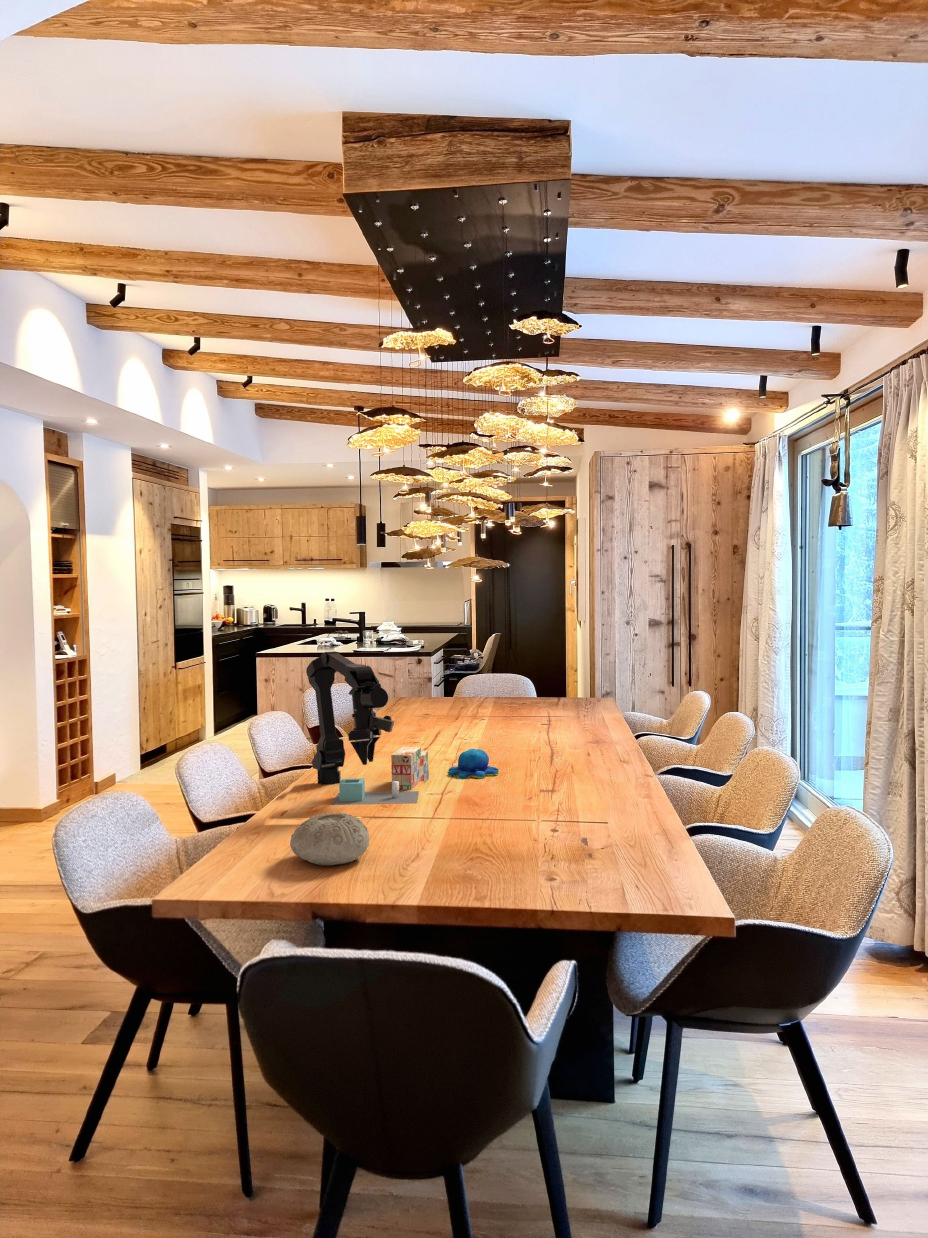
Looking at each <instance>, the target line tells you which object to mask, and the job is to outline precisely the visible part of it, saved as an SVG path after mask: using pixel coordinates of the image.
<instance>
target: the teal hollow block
mask: <svg viewBox="0 0 928 1238" xmlns="http://www.w3.org/2000/svg"><path fill="white" fill-rule="evenodd" d="M365 784H366V783H365V778H361V777H360V778H341V782H340V783H338V787H339V788H338V790H339V792H338V793H339V795H340V801H363V798H364V796H365V792H366V789H365Z"/></svg>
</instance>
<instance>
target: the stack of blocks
mask: <svg viewBox="0 0 928 1238" xmlns="http://www.w3.org/2000/svg"><path fill="white" fill-rule="evenodd" d="M390 757H391V759H390V760H391V783H392V782H393V781H398V782H399V790H405V791H413V789H415V787H417V786H418V785H419V784H420V783H421V782H423V783H424V782H425V783H426V782H427V781H428V780H429V779H430V777H429V768H430V767H429V751H428V750H422V749H421V747H420V746H401V748H398V750H396V751H395V752H393V753H392V754H391V755H390Z"/></svg>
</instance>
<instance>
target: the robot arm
mask: <svg viewBox="0 0 928 1238" xmlns="http://www.w3.org/2000/svg"><path fill="white" fill-rule="evenodd" d="M305 670H306V676H307V680H308V683H309V685H310V686H311V688H312V689H313V690H314V691H315V692H314V693H315V699H316V700H315V701H316V709H317V717H318V725H319V733H320V737H319V739H318V742H317V744H316V753H315V754H314V757H313V759H312V761H311V765H312V766H311V767H312V769H315V770H317V785H324V786H325V785H334V784H335V785H336V784H339V783H340V782H341V780H342V777H341V776H342V774H341V770H339V769H340V768H341V767H342V768H343V767H344V766H345V759H346V750H345V745H344V744H345V743H344V739H343V738H340V737H339V736H338V734H337V730H336V721H335V713H334V705H333V696H332V686H333V684H334V683H335V679H336V678H335V676H336V674H337V672H338V673H339V674H340V675H342V676H343V677H344V681H345V682H346V684H347V685H348V686H349V687H351V689H350V690H349V692H348V695H349V696H351V699H352V701H351V702H352V712H353V713H352V714H351V717H352V718H353V722H354V723H353V724H354V728H352V729H353V730H350V732H349V733H348V735H347V736H348V741H349V743H350V744H351V746H352V747H353V749H354V751H355V753H356V754H357V756H358V759H359V760H360V762H361V763H362V765H363V766H365V765H367V764H368V762H369V763H373V762H374V758H375V757H374V755H375V749H376V744H377V742H378V741H379V740H380V738H381V736H382V731H384V732H386V733H391V732H392V731H393V727H394V725H395V721H394V720H392V716H390V715H387V714H386V715H384V717H380V716H377V713H376V712H375V711H374V709H381V708H384V707H385V706H386V705H387V704H388V701H389V695H388V692H387V691H386V690H385V689H384V688H383V687H382V684H381V683H380V681H379V679H378V678H377V676H376V674H375V672H374V671H373V669H372V667H371V666H370V665H367V664H360V663H355V662H353V661H351V660H350V659H349V658H347V657H345V656H343V655H342V654H340V652H339V651H333V650H332V651H324V652H322V653H321V655H320V656H318V657H317V658H315V659H313V660H312V661H311V662H310V663H309V664H308V666H307V667H306V669H305Z"/></svg>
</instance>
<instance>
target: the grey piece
mask: <svg viewBox="0 0 928 1238" xmlns="http://www.w3.org/2000/svg"><path fill="white" fill-rule="evenodd" d="M419 793H420V791H419V790H417V791H415V790H405V791H403V790H402V791H400V789H399V782H398V781H393V782H392V781H391V791H365V796H364V798H363V801H340V795H339V792H338V793H337V795H336V797H335V798H334V799H333V802H332V804H331V806H337V805H338V806H342V805H344V806H345V805H347V806H348V805H349V806H351V805H391V804H392V805H397V804H398V805H399V804H418V800H419V799H418V798H419Z"/></svg>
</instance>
